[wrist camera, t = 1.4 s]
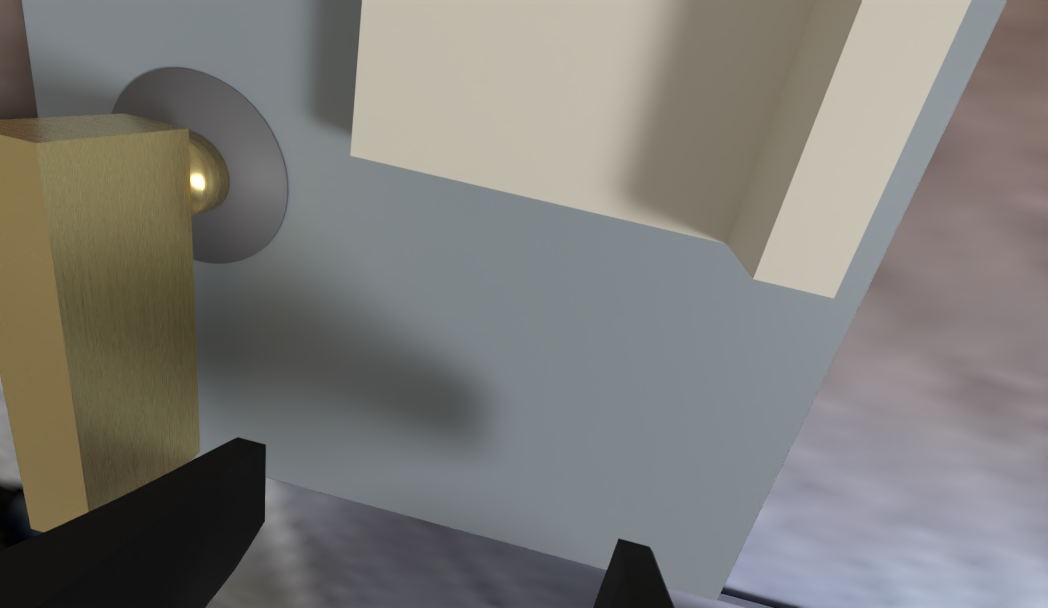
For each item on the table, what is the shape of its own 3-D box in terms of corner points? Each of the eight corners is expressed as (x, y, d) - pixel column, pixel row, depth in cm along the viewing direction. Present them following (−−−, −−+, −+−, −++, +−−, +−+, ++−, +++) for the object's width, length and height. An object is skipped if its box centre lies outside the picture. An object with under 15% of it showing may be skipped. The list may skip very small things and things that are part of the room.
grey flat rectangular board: (702, 532, 17) (717, 603, 15) (146, 384, 18) (78, 428, 16) (932, 9, 12) (1016, -12, 9) (103, -161, 13) (-14, -219, 10)
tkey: (231, 431, 15) (102, 549, 11) (171, 414, 15) (22, 526, 11) (229, 127, 12) (48, 146, 8) (152, 109, 12) (-62, 119, 8)
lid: (769, 238, 11) (834, 297, 8) (380, 147, 12) (293, 170, 9) (879, -40, 9) (1021, -107, 6) (407, -135, 10) (310, -243, 7)
